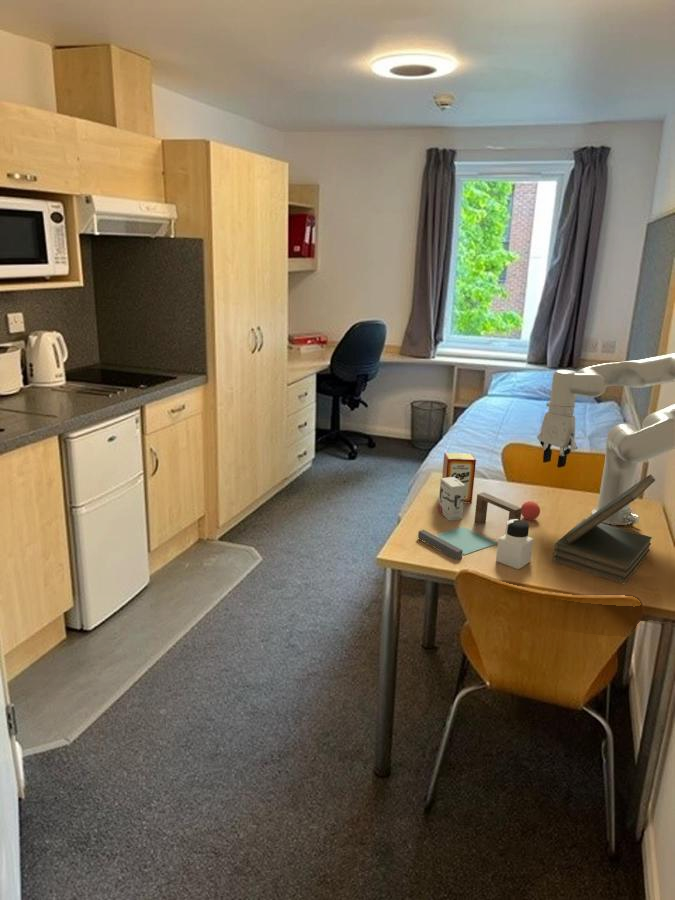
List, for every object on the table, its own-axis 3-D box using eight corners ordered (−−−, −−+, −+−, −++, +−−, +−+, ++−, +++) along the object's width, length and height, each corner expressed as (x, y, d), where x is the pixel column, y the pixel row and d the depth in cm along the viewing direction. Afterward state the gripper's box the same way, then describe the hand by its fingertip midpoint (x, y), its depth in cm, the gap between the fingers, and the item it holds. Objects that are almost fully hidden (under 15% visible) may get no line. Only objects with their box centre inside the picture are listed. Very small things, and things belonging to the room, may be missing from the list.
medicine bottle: (531, 561, 181) (536, 522, 177) (518, 570, 176) (523, 529, 172) (508, 553, 186) (512, 514, 182) (495, 561, 181) (499, 521, 177)
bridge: (480, 520, 207) (483, 492, 204) (518, 537, 196) (521, 508, 193) (474, 522, 206) (477, 494, 203) (511, 540, 194) (515, 510, 191)
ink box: (436, 510, 214) (439, 477, 210) (450, 509, 215) (453, 476, 212) (448, 521, 206) (452, 486, 203) (462, 519, 208) (466, 485, 204)
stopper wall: (461, 558, 182) (462, 550, 181) (456, 560, 181) (457, 551, 180) (423, 537, 194) (423, 529, 193) (418, 538, 193) (418, 531, 192)
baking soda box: (467, 495, 228) (471, 452, 223) (471, 503, 222) (476, 458, 217) (440, 495, 227) (444, 452, 223) (444, 502, 221) (448, 457, 216)
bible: (581, 536, 199) (593, 459, 191) (648, 556, 187) (664, 475, 179) (551, 562, 182) (564, 479, 174) (624, 586, 170) (640, 497, 162)
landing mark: (497, 543, 191) (497, 543, 191) (464, 555, 184) (464, 554, 183) (463, 526, 202) (463, 526, 202) (430, 537, 194) (430, 536, 194)
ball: (542, 520, 209) (545, 503, 207) (530, 524, 206) (533, 506, 204) (527, 514, 214) (530, 497, 212) (515, 517, 210) (517, 500, 208)
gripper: (531, 405, 208) (525, 458, 214) (577, 417, 195) (569, 474, 201) (546, 402, 213) (539, 455, 218) (592, 414, 199) (583, 469, 205)
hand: (553, 463), depth 209 cm, fingers open, 4 cm apart
